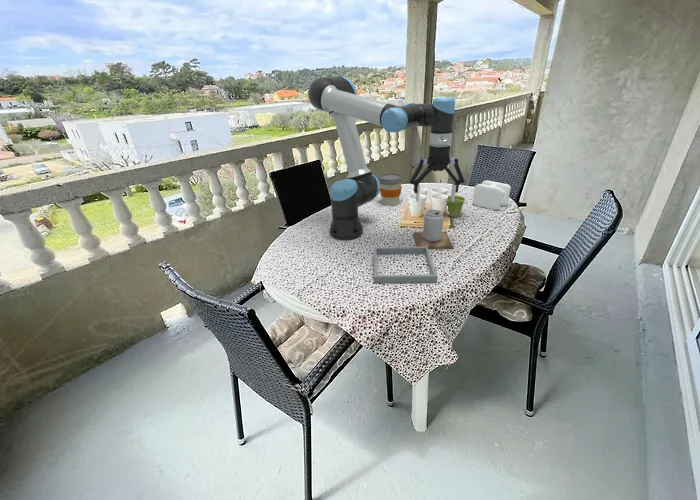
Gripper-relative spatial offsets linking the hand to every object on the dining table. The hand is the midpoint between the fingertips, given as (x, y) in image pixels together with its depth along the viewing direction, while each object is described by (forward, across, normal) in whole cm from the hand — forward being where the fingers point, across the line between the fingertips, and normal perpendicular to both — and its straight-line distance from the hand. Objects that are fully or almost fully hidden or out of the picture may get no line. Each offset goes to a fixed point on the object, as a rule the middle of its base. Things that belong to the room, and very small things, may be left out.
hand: (434, 200), depth 123 cm
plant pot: (+18, +15, +28) cm, 36 cm away
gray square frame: (+18, -14, -20) cm, 30 cm away
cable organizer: (+18, +36, +40) cm, 57 cm away
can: (+17, 0, 0) cm, 17 cm away
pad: (+18, 0, 0) cm, 18 cm away
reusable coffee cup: (+19, -15, +48) cm, 53 cm away
